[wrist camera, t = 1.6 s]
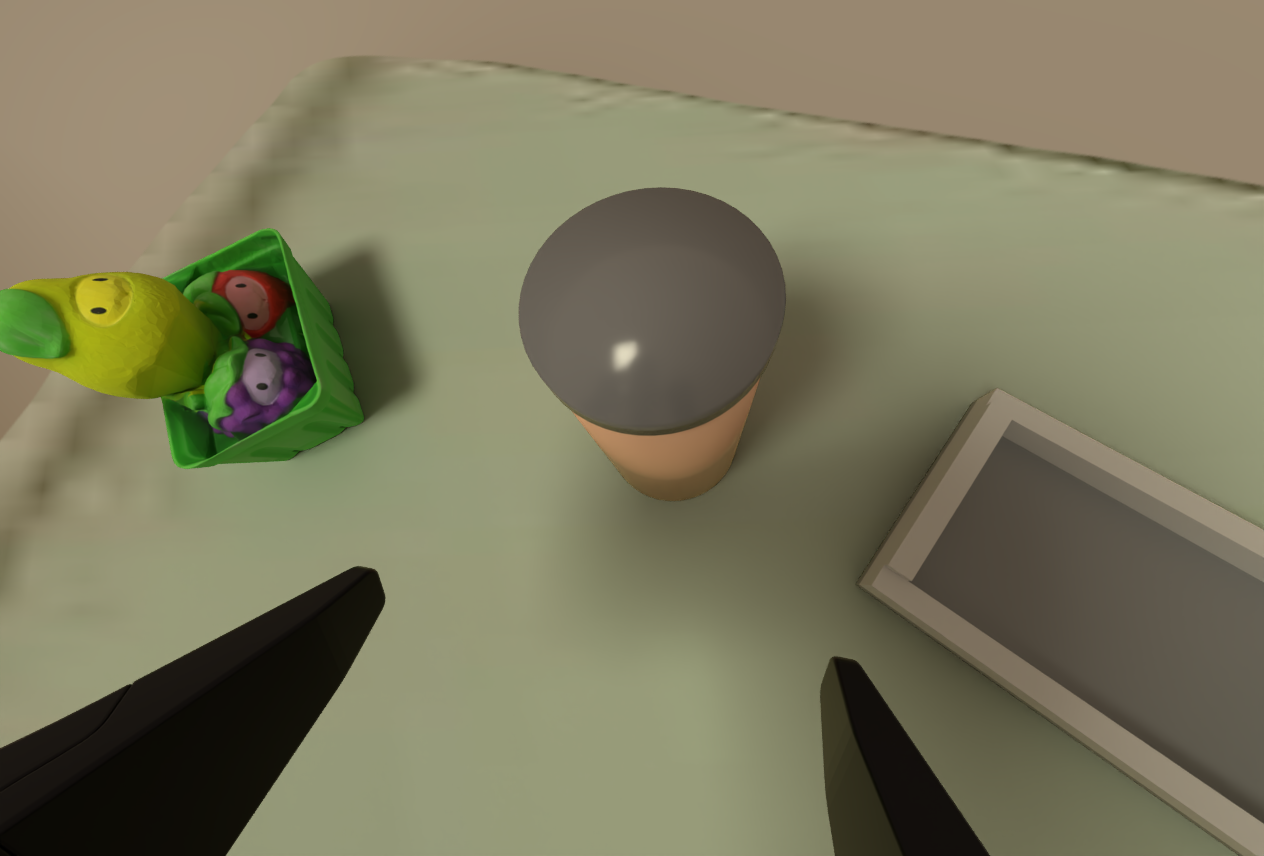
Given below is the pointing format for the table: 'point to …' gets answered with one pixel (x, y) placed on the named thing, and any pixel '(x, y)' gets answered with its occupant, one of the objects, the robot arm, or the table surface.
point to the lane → (1095, 604)
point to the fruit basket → (199, 349)
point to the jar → (656, 331)
